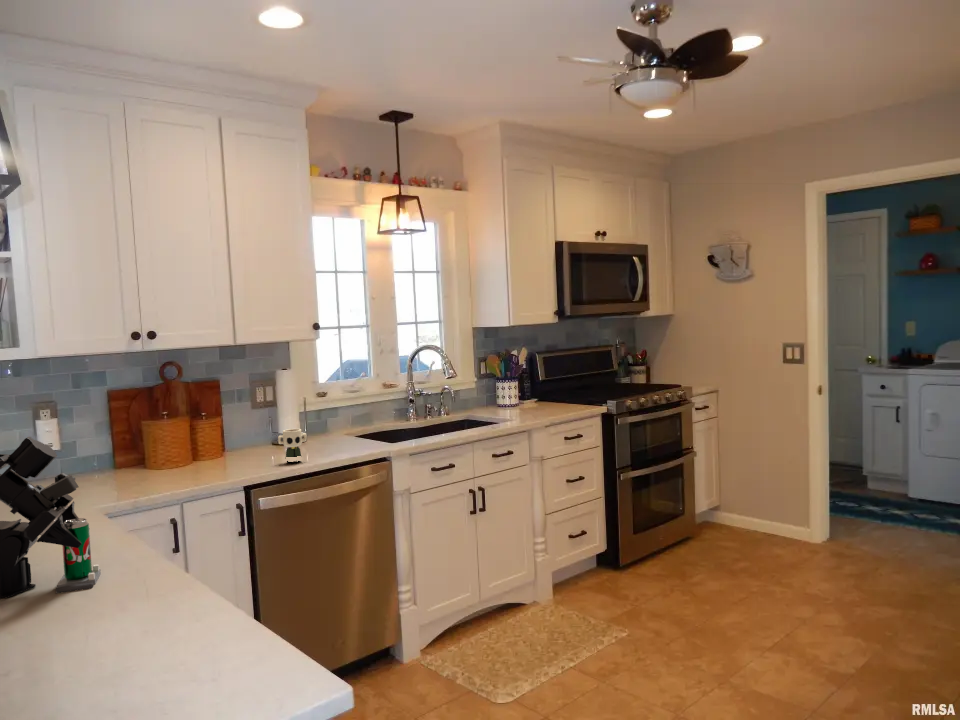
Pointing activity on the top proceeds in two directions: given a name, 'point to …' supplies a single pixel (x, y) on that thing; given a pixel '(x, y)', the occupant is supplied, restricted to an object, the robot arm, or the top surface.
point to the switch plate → (90, 579)
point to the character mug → (292, 441)
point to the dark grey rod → (74, 587)
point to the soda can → (77, 551)
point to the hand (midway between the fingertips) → (84, 539)
